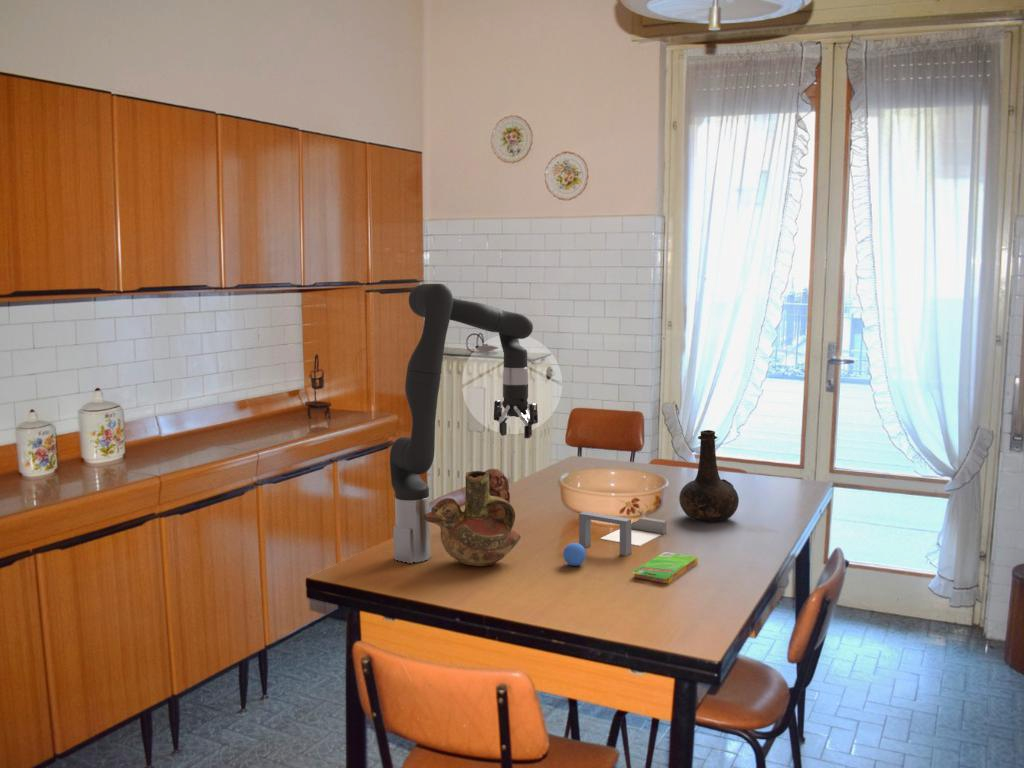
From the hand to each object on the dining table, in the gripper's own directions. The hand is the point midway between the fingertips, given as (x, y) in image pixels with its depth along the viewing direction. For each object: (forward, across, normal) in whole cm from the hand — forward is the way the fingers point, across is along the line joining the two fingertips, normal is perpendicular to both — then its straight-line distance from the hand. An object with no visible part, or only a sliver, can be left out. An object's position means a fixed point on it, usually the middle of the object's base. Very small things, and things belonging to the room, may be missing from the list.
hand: (515, 436), depth 275 cm
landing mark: (+28, +32, +13) cm, 45 cm away
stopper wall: (+28, +32, +22) cm, 48 cm away
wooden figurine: (+29, -8, +1) cm, 30 cm away
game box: (+30, +53, -9) cm, 62 cm away
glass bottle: (+28, +44, +43) cm, 67 cm away
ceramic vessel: (+30, +8, -31) cm, 44 cm away
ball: (+26, +31, -18) cm, 44 cm away
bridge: (+29, +32, -2) cm, 43 cm away
